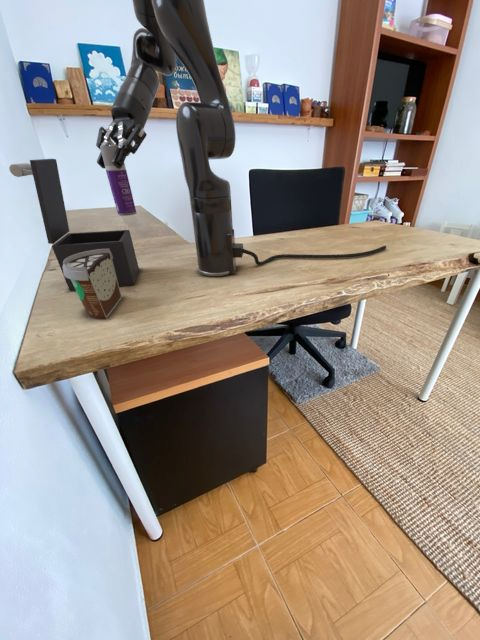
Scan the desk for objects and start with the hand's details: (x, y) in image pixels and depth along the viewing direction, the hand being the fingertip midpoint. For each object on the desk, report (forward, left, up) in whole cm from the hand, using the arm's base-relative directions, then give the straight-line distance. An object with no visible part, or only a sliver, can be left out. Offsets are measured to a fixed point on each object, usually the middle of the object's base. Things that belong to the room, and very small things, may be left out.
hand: (108, 165), depth 71 cm
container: (-1, -2, -11) cm, 11 cm away
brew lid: (+5, +17, -6) cm, 18 cm away
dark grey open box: (0, +15, -23) cm, 27 cm away
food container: (-5, +31, -23) cm, 39 cm away
